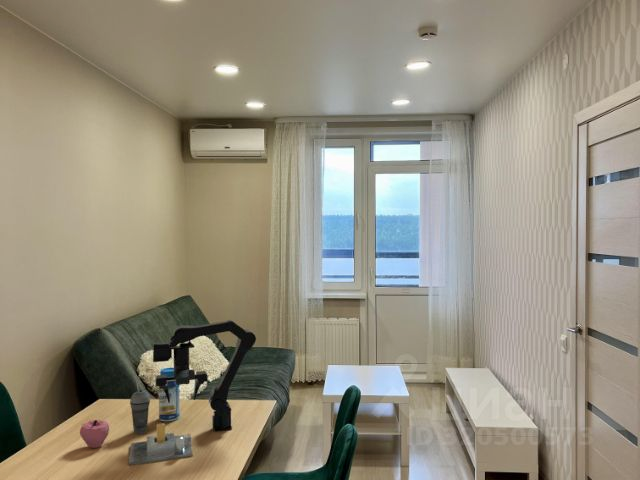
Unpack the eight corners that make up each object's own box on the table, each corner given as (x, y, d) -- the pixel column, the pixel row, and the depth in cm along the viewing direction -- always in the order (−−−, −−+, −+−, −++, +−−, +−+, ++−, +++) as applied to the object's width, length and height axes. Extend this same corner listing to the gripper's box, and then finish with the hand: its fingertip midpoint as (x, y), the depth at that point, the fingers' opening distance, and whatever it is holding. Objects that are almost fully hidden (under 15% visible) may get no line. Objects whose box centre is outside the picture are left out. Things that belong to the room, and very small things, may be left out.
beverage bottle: (184, 417, 205) (184, 368, 205) (168, 423, 198) (167, 373, 198) (170, 413, 210) (170, 365, 210) (154, 419, 203) (153, 370, 203)
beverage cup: (143, 436, 186) (143, 382, 186) (126, 434, 187) (125, 381, 187) (154, 428, 193) (153, 377, 193) (137, 427, 194) (136, 376, 194)
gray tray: (189, 438, 183) (188, 421, 183) (192, 456, 168) (192, 438, 168) (130, 446, 177) (130, 429, 177) (129, 465, 162) (128, 446, 161)
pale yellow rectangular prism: (164, 445, 174) (164, 423, 174) (165, 448, 172) (164, 425, 172) (157, 447, 173) (156, 424, 173) (157, 450, 171) (156, 426, 171)
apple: (114, 443, 179) (114, 415, 179) (96, 453, 171) (96, 424, 171) (93, 440, 182) (93, 412, 182) (74, 449, 174) (74, 421, 174)
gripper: (155, 367, 177) (156, 411, 177) (209, 362, 183) (209, 405, 183) (155, 360, 188) (155, 401, 188) (205, 356, 194) (206, 396, 194)
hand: (181, 401), depth 188 cm, fingers open, 9 cm apart
